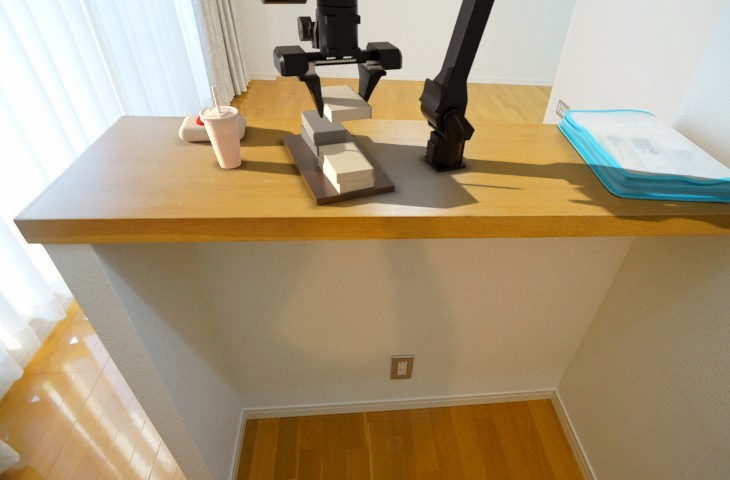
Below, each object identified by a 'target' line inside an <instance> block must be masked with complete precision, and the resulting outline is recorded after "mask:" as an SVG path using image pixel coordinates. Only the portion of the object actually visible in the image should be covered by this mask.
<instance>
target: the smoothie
mask: <svg viewBox="0 0 730 480" xmlns="http://www.w3.org/2000/svg"><path fill="white" fill-rule="evenodd" d="M211 90H212V95H213V98H214V105H213V106H208V107H205V108H203V109H202V110H200V111H199V116H200V119H201V121H202V122H204V125H205V127H206V130H207V132H208V135H209V138H210V140H211V141H210V143H211V146H212V147H213V151H214V152H215V155H216V156H215V157H216V158H217V160H218V163H219V165H220V167H221V168H223V169H235V168H238V167H241V165H242V155H241V154H242V153H241V140H240V138H239V123H238V119H239V118H240V116H241V115H240V111H239V109H238V108H236V107H233V106H231V105H220V102H219V97H218V93H217V87H216V85H211Z"/></svg>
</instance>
